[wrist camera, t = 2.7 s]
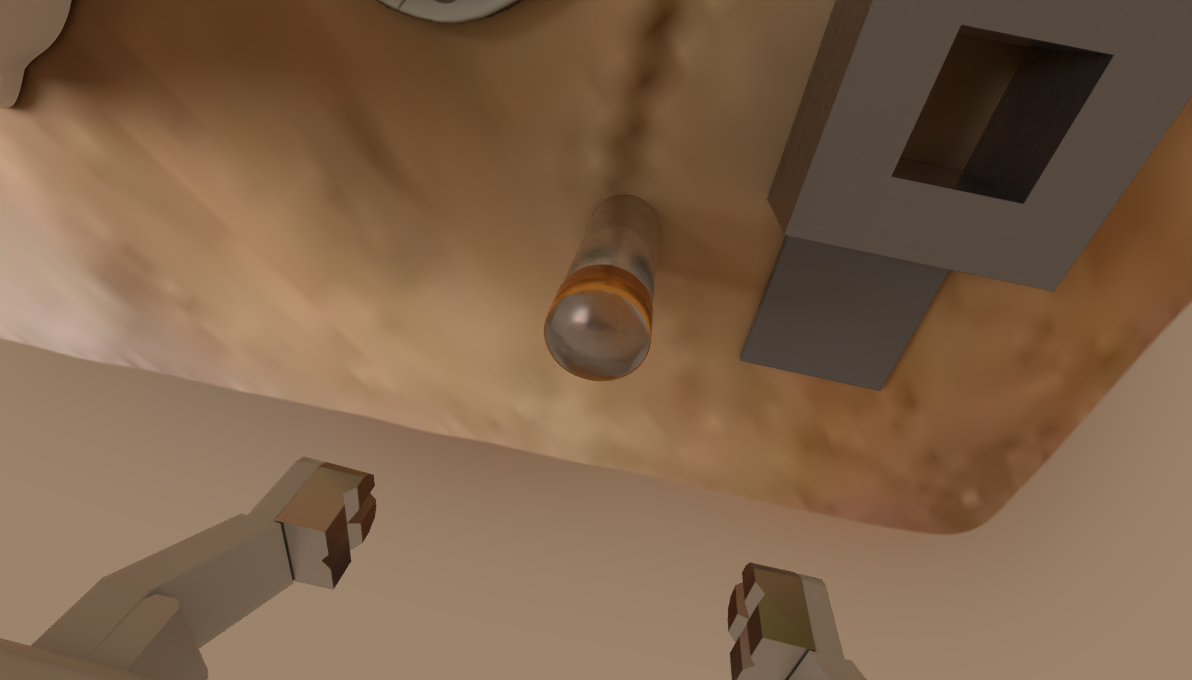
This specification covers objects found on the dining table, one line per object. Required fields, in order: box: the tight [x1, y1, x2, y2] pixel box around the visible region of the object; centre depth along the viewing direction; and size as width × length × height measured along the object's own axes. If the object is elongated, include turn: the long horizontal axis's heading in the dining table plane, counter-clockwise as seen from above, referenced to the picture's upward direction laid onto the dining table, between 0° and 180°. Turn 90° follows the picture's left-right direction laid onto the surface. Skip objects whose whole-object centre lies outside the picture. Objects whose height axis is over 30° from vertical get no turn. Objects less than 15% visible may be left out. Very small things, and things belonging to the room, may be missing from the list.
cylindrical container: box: [544, 195, 659, 381], centre depth 23 cm, size 4×4×11 cm
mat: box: [740, 235, 949, 391], centre depth 28 cm, size 8×8×1 cm
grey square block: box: [767, 0, 1192, 291], centre depth 21 cm, size 11×11×5 cm
